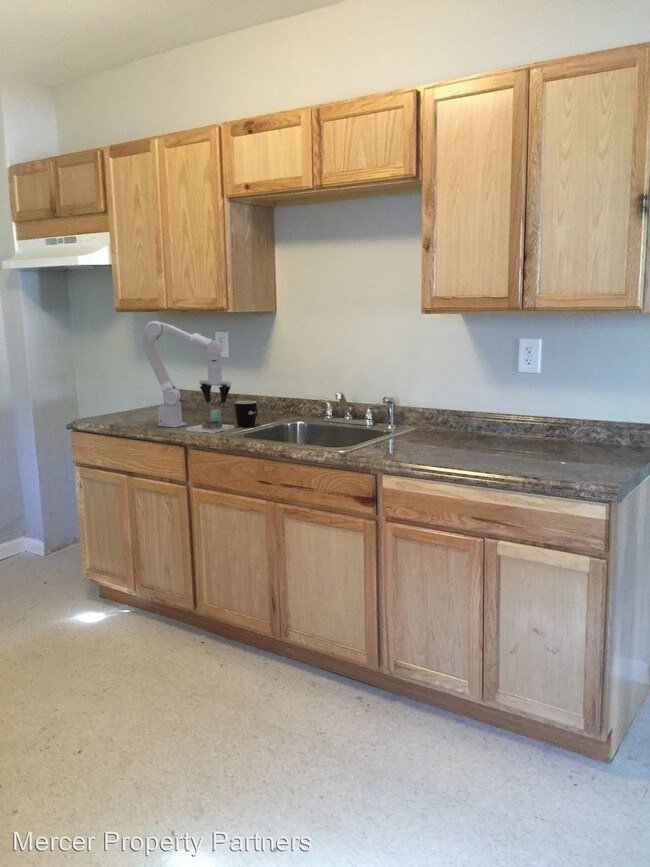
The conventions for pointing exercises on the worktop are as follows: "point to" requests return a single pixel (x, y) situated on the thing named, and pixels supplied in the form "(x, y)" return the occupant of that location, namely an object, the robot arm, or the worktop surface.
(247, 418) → the mug
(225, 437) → the worktop surface
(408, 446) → the worktop surface
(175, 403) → the robot arm
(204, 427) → the panel
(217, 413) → the knob
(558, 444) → the worktop surface
